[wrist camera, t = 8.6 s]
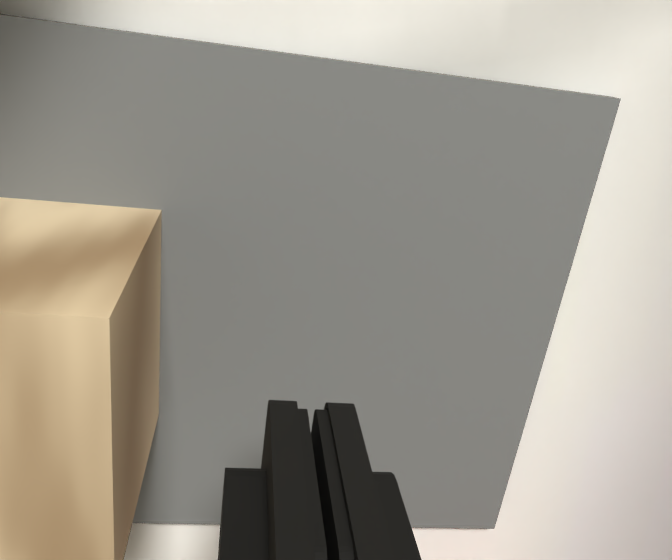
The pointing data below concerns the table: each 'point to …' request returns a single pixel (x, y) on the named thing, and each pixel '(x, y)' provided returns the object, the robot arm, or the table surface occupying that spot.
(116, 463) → the maple cube
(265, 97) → the rubber mat
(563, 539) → the table surface
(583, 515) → the table surface
